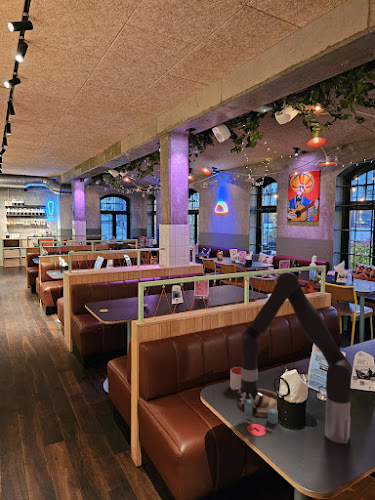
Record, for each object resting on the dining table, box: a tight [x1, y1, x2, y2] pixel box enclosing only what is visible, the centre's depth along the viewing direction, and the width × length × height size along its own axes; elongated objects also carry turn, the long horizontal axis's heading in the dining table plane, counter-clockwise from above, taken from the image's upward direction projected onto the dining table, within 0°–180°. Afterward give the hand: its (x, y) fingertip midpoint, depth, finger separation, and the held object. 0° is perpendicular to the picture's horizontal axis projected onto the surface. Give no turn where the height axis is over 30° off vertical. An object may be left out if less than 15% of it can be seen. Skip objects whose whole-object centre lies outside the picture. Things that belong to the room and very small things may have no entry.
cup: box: [229, 366, 242, 391], centre depth 187 cm, size 10×10×10 cm
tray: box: [237, 388, 278, 418], centre depth 171 cm, size 23×23×3 cm
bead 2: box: [267, 409, 279, 425], centre depth 156 cm, size 4×4×6 cm
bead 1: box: [243, 400, 254, 417], centre depth 157 cm, size 4×4×6 cm
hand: (249, 412), depth 158 cm, fingers closed on bead 1, 4 cm apart
